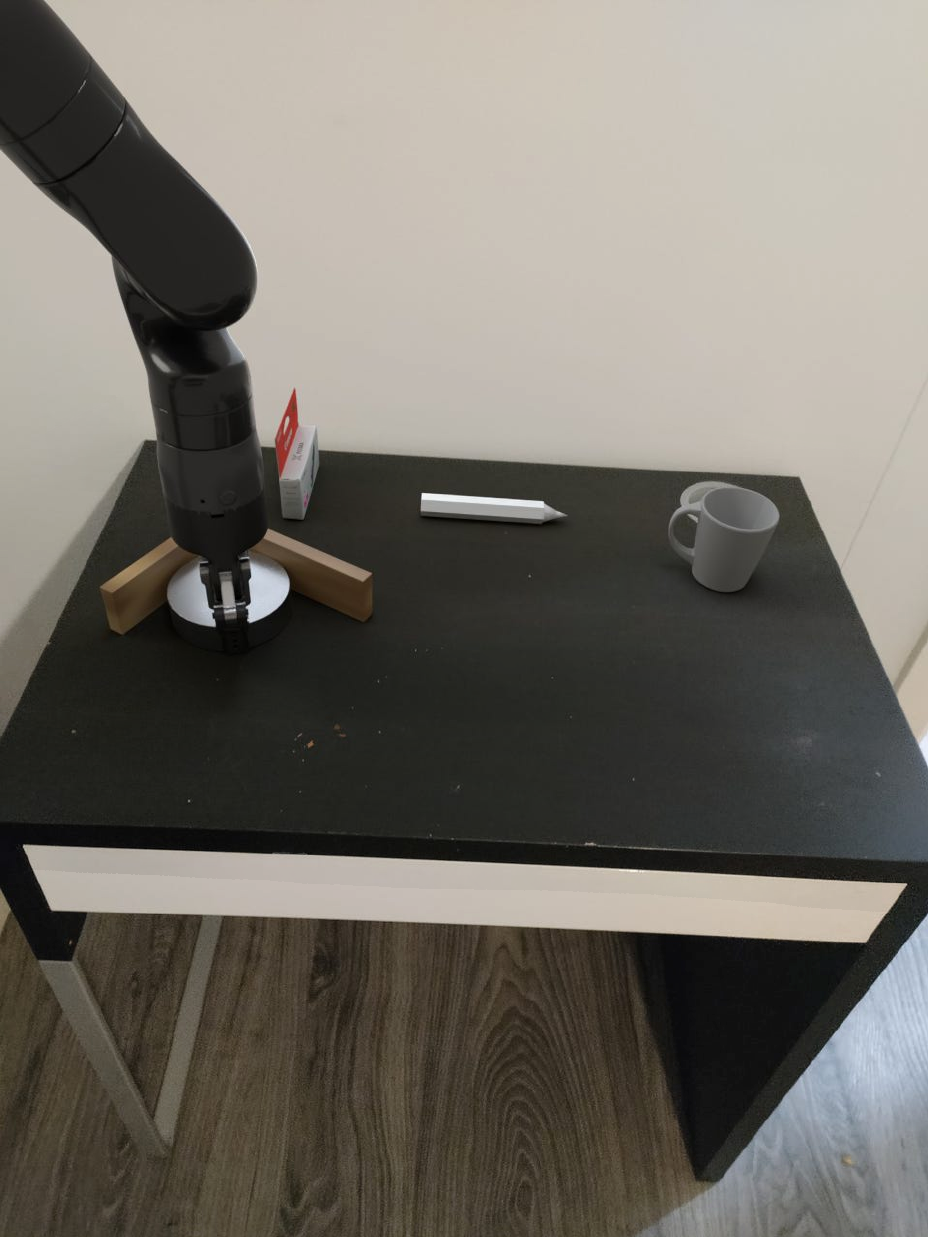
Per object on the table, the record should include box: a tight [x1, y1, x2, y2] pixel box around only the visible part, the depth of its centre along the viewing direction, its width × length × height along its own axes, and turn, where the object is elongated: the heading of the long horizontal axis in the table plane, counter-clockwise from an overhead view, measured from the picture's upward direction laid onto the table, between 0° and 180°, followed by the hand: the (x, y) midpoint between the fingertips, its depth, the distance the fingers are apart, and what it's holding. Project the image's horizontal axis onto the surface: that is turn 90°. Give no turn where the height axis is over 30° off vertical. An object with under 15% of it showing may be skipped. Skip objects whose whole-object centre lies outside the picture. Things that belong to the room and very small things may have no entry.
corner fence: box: [99, 528, 373, 636], centre depth 85 cm, size 15×18×5 cm
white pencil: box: [420, 492, 569, 525], centre depth 100 cm, size 3×2×16 cm
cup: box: [668, 486, 780, 593], centre depth 93 cm, size 8×10×8 cm
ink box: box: [274, 387, 320, 521], centre depth 99 cm, size 2×11×10 cm, turn 178°
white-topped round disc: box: [167, 551, 293, 652], centre depth 86 cm, size 11×11×3 cm
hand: (236, 649), depth 81 cm, fingers closed
